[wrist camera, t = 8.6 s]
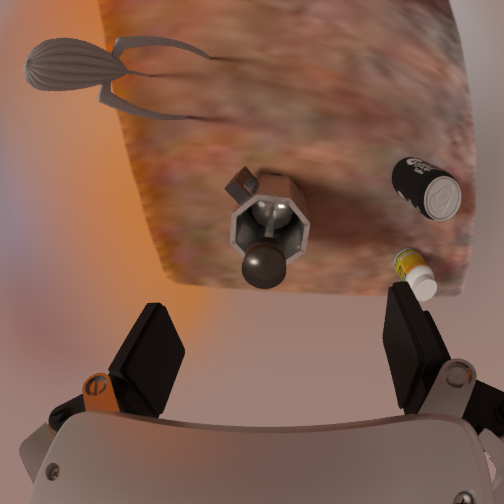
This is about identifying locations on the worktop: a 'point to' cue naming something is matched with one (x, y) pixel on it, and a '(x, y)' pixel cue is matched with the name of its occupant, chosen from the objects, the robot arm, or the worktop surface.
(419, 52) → the worktop surface
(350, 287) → the worktop surface
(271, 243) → the grey knobbed rod
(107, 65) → the juicer
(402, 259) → the supplement bottle
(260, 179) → the press carafe
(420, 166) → the beverage can
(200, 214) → the worktop surface
